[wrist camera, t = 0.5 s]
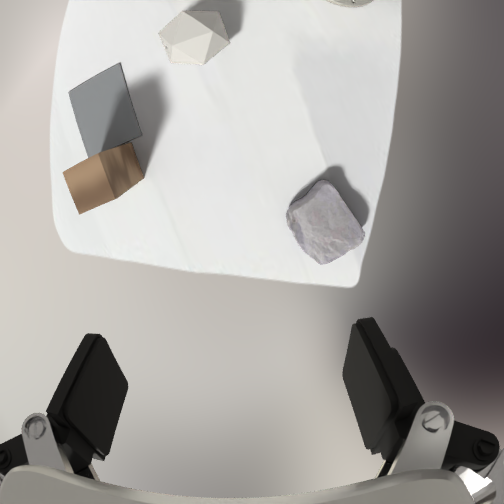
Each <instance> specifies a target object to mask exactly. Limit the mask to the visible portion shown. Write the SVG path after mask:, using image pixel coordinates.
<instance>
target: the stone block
mask: <svg viewBox="0 0 504 504" xmlns="http://www.w3.org/2000/svg"><path fill="white" fill-rule="evenodd" d="M286 218H287V224H288V227H289V229H290V230H291V231H292V232H293V234H294V237H295V239H296V241H297V243H298V244H299V246H300V247H301V249H302V250H303V251H304V252H305V253H306V254H308V255H309V256H310V257H311V258H313V259H314V260H315V261H316V262H317V263H319V264H327V263H330V262H332V261H333V260H335V259H337V258H339V257H341V256H343V255H344V254H346V253H347V252H348V251H350V250H353V249H354V248H356V247H357V246H359V245H360V244H361V243H362V241H363V239H364V237H365V232H364V231H363V229H362V227H361V225H360V224H359V222H358V221H357V219H356V218H355V216H354V215H353V214H352V212H351V211H350V209H349V208H348V207H347V205H346V204H345V202H344V200H343V199H342V198H341V196H340V194H339V193H338V191H337V190H336V189H335V187H334V186H333V185H332V184H331V183H330V182H329V181H327V180H320V181H318V182H317V183H315V184H314V186H313V187H312V188H311V189H310V190H309V191H308V193H307V194H306V195H305V196H304V197H302V198H301V199H298V200H297V201H295V202H294V203H293V204H291V205H290V206H289V209H288V211H287V213H286Z"/></svg>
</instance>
